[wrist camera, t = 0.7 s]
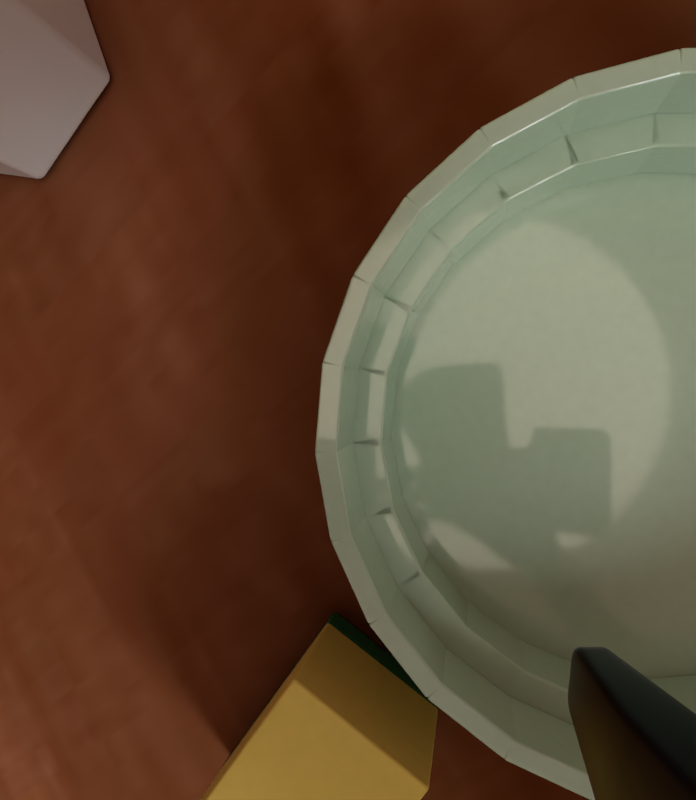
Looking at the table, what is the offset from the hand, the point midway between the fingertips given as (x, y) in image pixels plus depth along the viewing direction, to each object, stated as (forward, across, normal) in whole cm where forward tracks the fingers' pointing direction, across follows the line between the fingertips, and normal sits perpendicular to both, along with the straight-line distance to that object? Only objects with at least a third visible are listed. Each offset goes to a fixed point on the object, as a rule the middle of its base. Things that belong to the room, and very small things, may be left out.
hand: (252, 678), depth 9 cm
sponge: (+10, 0, +11) cm, 15 cm away
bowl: (+11, -10, +1) cm, 15 cm away
